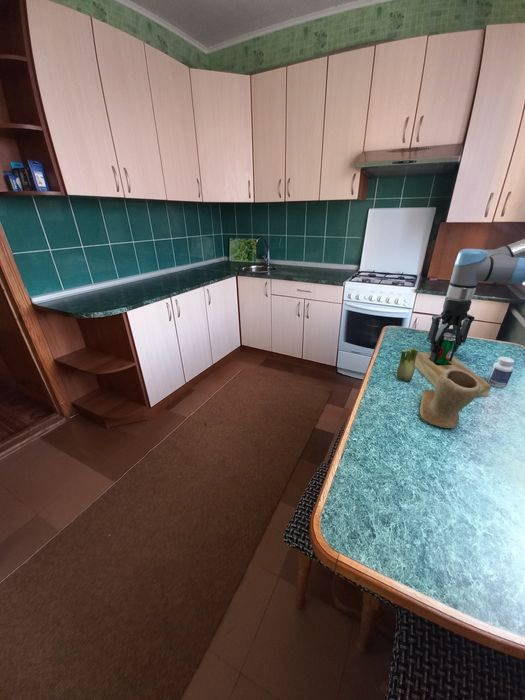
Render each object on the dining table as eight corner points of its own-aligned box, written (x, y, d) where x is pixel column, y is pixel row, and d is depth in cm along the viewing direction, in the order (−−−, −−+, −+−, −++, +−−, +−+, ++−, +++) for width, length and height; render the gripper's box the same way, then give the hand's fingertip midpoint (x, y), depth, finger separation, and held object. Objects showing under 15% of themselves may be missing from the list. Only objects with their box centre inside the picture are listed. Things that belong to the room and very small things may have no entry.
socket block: (444, 361, 115) (447, 352, 113) (487, 396, 94) (491, 386, 92) (410, 362, 114) (412, 353, 113) (445, 397, 93) (448, 387, 92)
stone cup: (465, 438, 77) (483, 391, 71) (416, 422, 83) (428, 378, 76) (464, 407, 89) (480, 365, 82) (421, 395, 95) (433, 355, 88)
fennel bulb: (395, 381, 103) (402, 350, 97) (394, 374, 107) (400, 344, 101) (413, 383, 101) (421, 353, 95) (411, 376, 105) (419, 346, 100)
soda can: (445, 369, 104) (455, 339, 98) (430, 365, 107) (438, 335, 101) (448, 364, 107) (458, 334, 102) (433, 359, 110) (442, 331, 105)
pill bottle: (509, 389, 97) (520, 363, 93) (491, 387, 98) (502, 362, 93) (500, 380, 102) (511, 356, 97) (483, 379, 103) (493, 354, 98)
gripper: (477, 294, 99) (458, 354, 110) (425, 295, 99) (411, 355, 110) (494, 301, 93) (471, 364, 103) (438, 302, 92) (421, 365, 103)
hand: (440, 359), depth 106 cm, fingers closed on soda can, 5 cm apart
